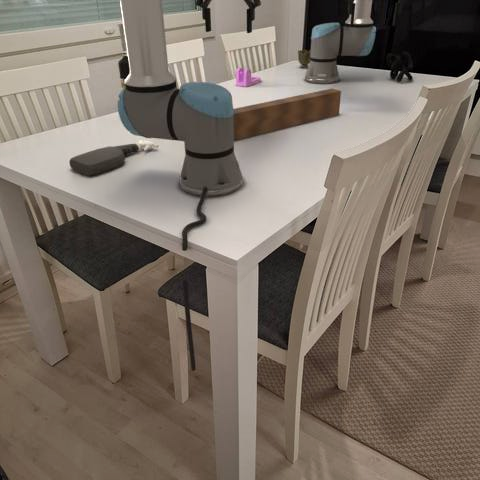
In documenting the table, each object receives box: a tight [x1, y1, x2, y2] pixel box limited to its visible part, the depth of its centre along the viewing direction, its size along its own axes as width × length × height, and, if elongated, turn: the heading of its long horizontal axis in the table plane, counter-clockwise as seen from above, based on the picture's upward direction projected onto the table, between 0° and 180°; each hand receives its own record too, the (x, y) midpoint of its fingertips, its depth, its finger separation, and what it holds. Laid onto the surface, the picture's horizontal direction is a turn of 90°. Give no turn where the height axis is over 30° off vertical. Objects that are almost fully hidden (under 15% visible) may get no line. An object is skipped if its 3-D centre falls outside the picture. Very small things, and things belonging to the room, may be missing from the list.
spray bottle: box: [68, 139, 160, 177], centre depth 124 cm, size 3×11×24 cm
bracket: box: [235, 67, 262, 88], centre depth 199 cm, size 13×6×7 cm, turn 143°
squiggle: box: [385, 51, 414, 83], centre depth 198 cm, size 11×10×15 cm
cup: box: [297, 49, 311, 69], centre depth 225 cm, size 8×7×8 cm
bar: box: [233, 88, 342, 142], centre depth 145 cm, size 51×5×8 cm, turn 124°
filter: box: [117, 23, 130, 90], centre depth 151 cm, size 6×6×30 cm
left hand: (228, 32), depth 139 cm, fingers open, 13 cm apart
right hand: (372, 25), depth 146 cm, fingers open, 13 cm apart
